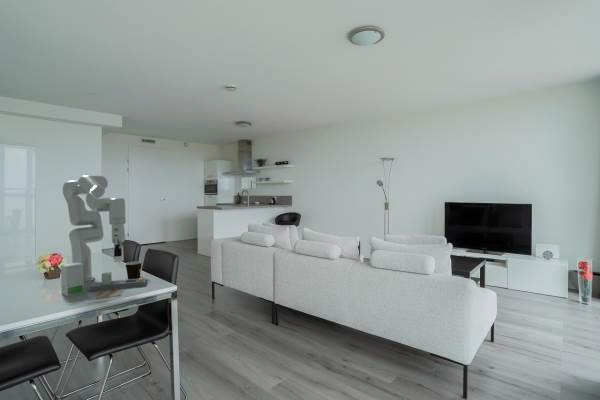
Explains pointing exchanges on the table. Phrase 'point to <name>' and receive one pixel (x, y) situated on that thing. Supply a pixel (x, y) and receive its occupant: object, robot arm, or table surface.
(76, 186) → the robot arm
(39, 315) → the table surface
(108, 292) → the walnut board
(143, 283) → the power strip
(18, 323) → the table surface
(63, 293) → the skincare box
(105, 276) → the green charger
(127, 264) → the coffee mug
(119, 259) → the white charger
